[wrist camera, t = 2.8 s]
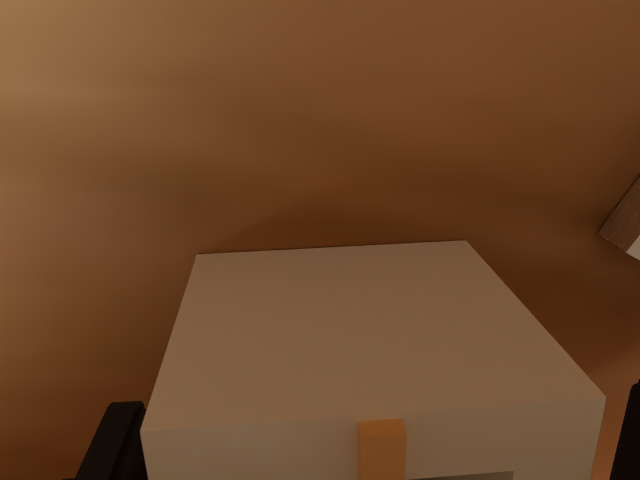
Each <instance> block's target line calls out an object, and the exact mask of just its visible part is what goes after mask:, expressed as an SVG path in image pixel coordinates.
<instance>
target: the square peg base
mask: <svg viewBox="0 0 640 480" xmlns="http://www.w3.org/2000/svg"><path fill="white" fill-rule="evenodd" d="M597 234H598V235H600V236H601V237H603V238H604V239H606V240H607V241H609V242H610V243H612V244H613V245H615V246H617V247H618V248H620V249H621V250H623V251H624V252H626V253H628V254H629V255H631V256H633V257H635V258H636V259H638V260H640V176H639V178H638V179H637V180H636V182H635V183H634V184H633V186H632V187H631V188H630V190H629V191H628V192H627V194H626V195H625V196H624V198H623V199H622V200H621V202H620V203H619V205H618V206H617V207H616V209H615V210H614V211H613V213H612V214H611V215H610V217H609V218H608V219H607V221H606V222H605V223H604V225H603V226H602V227H601V229H600V230H599V231H598V233H597Z"/></svg>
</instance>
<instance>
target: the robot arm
mask: <svg viewBox="0 0 640 480" xmlns="http://www.w3.org/2000/svg"><path fill="white" fill-rule="evenodd" d="M146 411H147V409H145V407H144V404H143V402H141V401H132V402H112V403H110V404H109V406H108V407H107V410H106V412H105V414H104V416H103V418H102V420H101V423H100V425H99V427H98V429H97V431H96V434H95V436H94V438H93V440H92V442H91V444H90V447H89V449H88V451H87V453H86V455H85V457H84V460H83V462H82V464H81V466H80V468H79V471H78V473H77V475H76V477H75V478H68V479H62V480H148V475H147V469H146V464H145V458H144V453H143V447H142V441H141V436H140V429H141V426H142V423H143V420H144V417H145V414H146ZM609 480H640V379H639V381H638V383H637V384H634V385H633V386H632V388H631V390H630V395H629V399H628V403H627V407H626V412H625V416H624V420H623V424H622V429H621V433H620V437H619V441H618V445H617V450H616V454H615V458H614V462H613V467H612V471H611V475H610V479H609Z"/></svg>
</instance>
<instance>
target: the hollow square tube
mask: <svg viewBox="0 0 640 480" xmlns="http://www.w3.org/2000/svg"><path fill="white" fill-rule="evenodd" d="M606 398H607V397H606V396H605V395H604V394H603V393H602V392H601V390H600V389H599V388H598V387H597V386H596V385H595V384H594V383H593V381H592V380H591V379H590V378H589V377H588V376H587V375H586V374H585V373H584V371H583V370H582V369H581V368H580V367H579V366H578V365H577V364H576V363H575V361H574V360H573V359H572V358H571V357H570V356H569V355H568V354H567V352H566V351H565V350H564V349H563V348H562V347H561V346H560V345H559V344H558V342H557V341H556V340H555V339H554V338H553V337H552V336H551V335H550V333H549V332H548V331H547V330H546V329H545V328H544V327H543V326H542V325H541V323H540V322H539V321H538V320H537V319H536V318H535V317H534V316H533V315H532V313H531V312H530V311H529V310H528V309H527V308H526V307H525V306H524V304H523V303H522V302H521V301H520V300H519V299H518V298H517V297H516V296H515V294H514V293H513V292H512V291H511V290H510V289H509V288H508V287H507V285H506V284H505V283H504V282H503V281H502V280H501V279H500V278H499V277H498V275H497V274H496V273H495V272H494V271H493V270H492V269H491V268H490V267H489V265H488V264H487V263H486V262H485V261H484V260H483V259H482V258H481V256H480V255H479V254H478V253H477V252H476V251H475V250H474V249H473V248H472V246H471V245H470V244H469V243H468V242H467V241H466V240H462V241H443V242H424V243H404V244H385V245H366V246H347V247H328V248H309V249H290V250H271V251H252V252H232V253H213V254H197V255H196V258H195V262H194V265H193V268H192V271H191V274H190V277H189V280H188V283H187V286H186V289H185V293H184V296H183V299H182V302H181V305H180V308H179V311H178V314H177V317H176V321H175V324H174V327H173V330H172V333H171V336H170V339H169V342H168V345H167V349H166V352H165V355H164V358H163V361H162V364H161V367H160V370H159V373H158V377H157V380H156V383H155V386H154V389H153V392H152V395H151V398H150V401H149V404H148V408H147V411H146V414H145V417H144V420H143V423H142V426H141V429H140V436H141V441H142V447H143V453H144V458H145V464H146V469H147V475H148V480H590V477H591V472H592V467H593V462H594V457H595V452H596V447H597V442H598V438H599V433H600V428H601V423H602V418H603V413H604V408H605V403H606Z"/></svg>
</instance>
